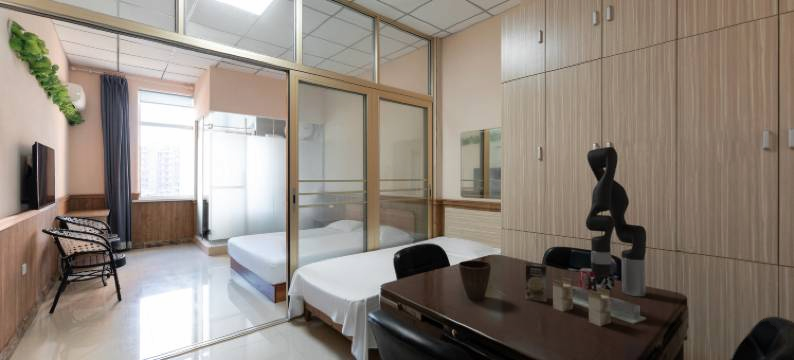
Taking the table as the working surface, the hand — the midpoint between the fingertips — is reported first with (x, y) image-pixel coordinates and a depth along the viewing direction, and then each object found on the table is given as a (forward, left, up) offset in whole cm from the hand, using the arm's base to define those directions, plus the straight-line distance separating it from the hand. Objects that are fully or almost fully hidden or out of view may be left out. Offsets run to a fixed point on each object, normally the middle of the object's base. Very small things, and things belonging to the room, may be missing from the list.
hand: (602, 299), depth 142 cm
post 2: (+14, +8, -4) cm, 17 cm away
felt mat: (0, 0, -4) cm, 4 cm away
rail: (0, 0, -4) cm, 4 cm away
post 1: (+14, -8, -4) cm, 17 cm away
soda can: (-12, -14, -4) cm, 19 cm away
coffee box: (+14, -22, -4) cm, 27 cm away
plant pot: (+38, -37, -4) cm, 54 cm away
